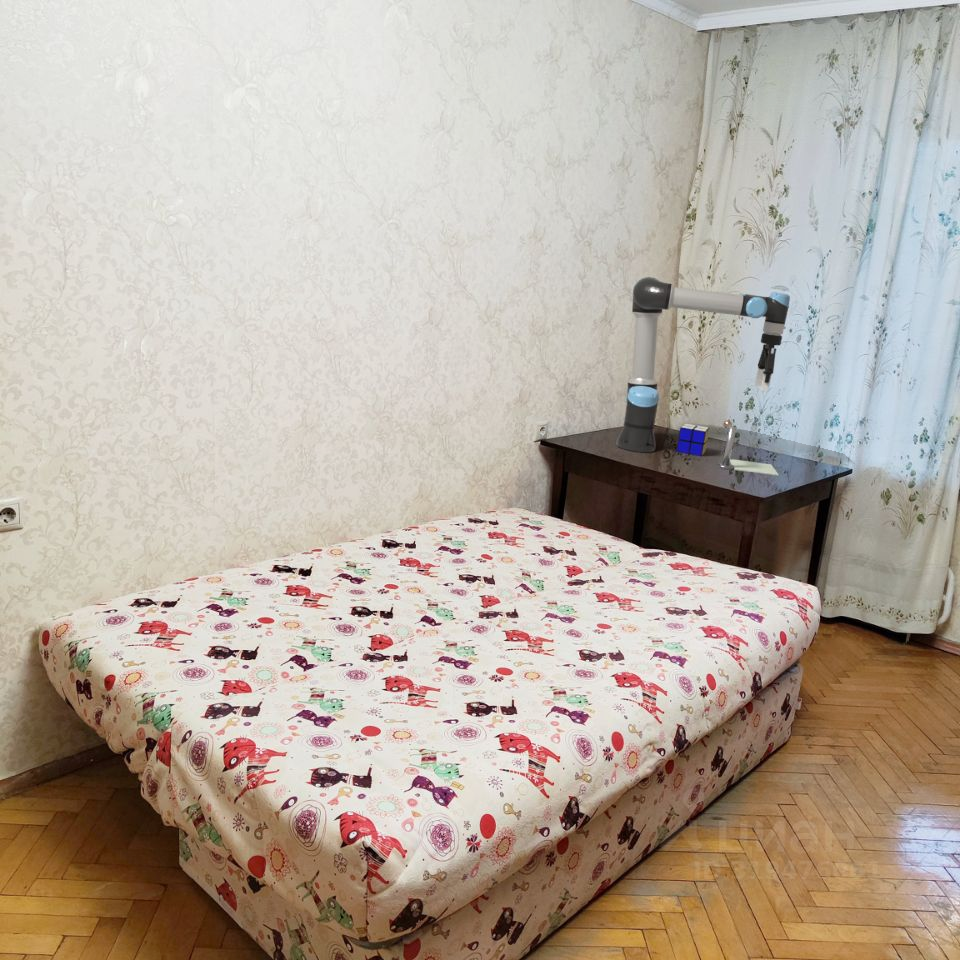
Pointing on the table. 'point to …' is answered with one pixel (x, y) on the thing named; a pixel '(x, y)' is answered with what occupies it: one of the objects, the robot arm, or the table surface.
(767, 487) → the table surface
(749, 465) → the sage mat
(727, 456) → the hook post
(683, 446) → the puzzle cube
